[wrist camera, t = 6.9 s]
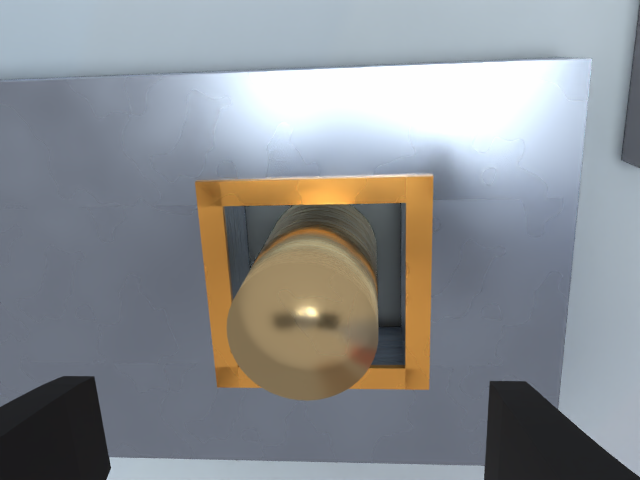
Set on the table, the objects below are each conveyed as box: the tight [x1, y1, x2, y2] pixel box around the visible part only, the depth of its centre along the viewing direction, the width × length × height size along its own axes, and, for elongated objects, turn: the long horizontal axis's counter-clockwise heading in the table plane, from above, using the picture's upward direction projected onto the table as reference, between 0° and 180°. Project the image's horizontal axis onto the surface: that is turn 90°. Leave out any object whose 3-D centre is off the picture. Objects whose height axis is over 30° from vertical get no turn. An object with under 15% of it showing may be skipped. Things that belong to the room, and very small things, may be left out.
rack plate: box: [0, 57, 592, 466], centre depth 18 cm, size 12×19×3 cm, turn 92°
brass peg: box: [227, 204, 378, 401], centre depth 16 cm, size 4×4×6 cm
